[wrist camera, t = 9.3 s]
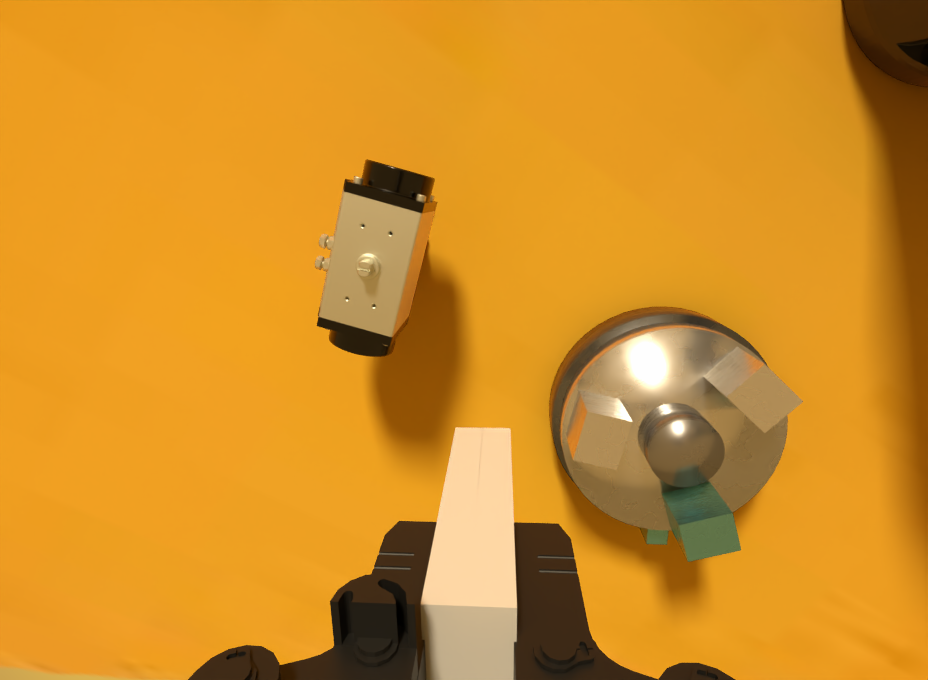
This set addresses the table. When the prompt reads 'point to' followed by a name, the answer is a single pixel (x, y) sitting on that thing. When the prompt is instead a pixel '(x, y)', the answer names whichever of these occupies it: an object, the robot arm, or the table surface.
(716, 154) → the table surface
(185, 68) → the table surface
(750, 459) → the lathe chuck
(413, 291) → the pneumatic valve
